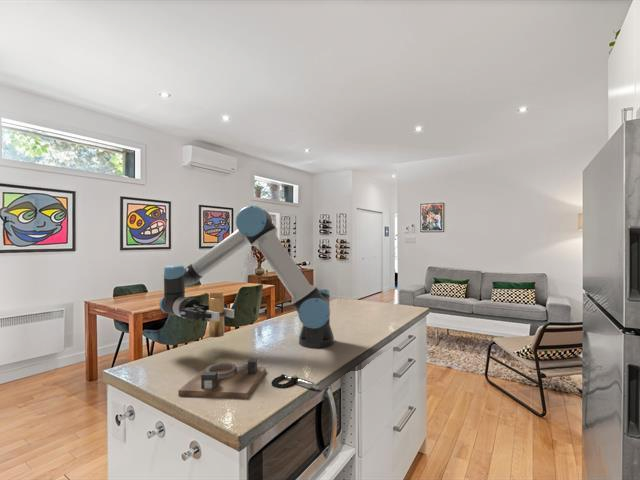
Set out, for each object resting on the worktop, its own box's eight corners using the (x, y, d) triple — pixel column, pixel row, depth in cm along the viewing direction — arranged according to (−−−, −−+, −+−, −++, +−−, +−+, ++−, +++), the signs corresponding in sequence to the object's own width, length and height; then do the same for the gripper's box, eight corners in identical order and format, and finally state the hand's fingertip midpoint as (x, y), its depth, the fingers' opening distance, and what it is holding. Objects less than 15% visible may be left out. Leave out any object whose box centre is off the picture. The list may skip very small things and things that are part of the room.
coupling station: (265, 371, 109) (265, 355, 109) (246, 398, 90) (246, 379, 90) (208, 369, 111) (208, 354, 111) (178, 395, 93) (178, 376, 93)
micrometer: (266, 385, 100) (266, 376, 100) (283, 377, 105) (283, 369, 105) (303, 399, 90) (303, 390, 90) (319, 390, 96) (319, 381, 96)
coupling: (227, 333, 115) (226, 291, 115) (220, 337, 110) (220, 294, 110) (212, 333, 116) (212, 291, 116) (205, 337, 110) (205, 294, 111)
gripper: (209, 313, 131) (247, 321, 117) (164, 322, 116) (201, 332, 102) (209, 294, 131) (247, 300, 117) (164, 301, 116) (201, 308, 102)
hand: (225, 315), depth 110 cm, fingers closed on coupling, 5 cm apart
